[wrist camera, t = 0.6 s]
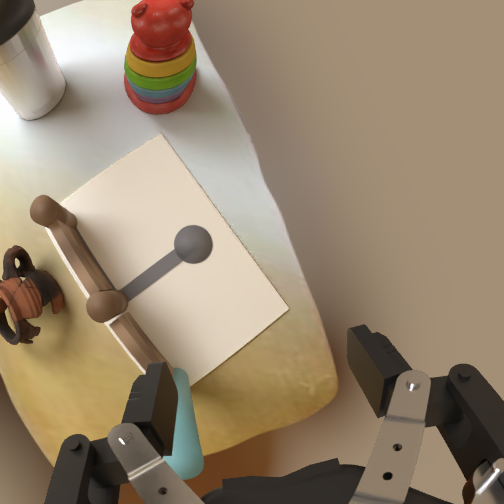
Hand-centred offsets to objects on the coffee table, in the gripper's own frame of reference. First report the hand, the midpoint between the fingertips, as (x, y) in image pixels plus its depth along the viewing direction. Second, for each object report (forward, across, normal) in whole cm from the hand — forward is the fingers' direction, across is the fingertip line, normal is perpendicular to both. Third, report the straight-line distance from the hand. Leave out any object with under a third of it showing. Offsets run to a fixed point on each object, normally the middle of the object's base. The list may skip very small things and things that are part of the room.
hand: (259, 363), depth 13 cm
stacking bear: (+35, +7, -20) cm, 41 cm away
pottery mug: (+21, +28, +3) cm, 35 cm away
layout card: (+25, +10, +3) cm, 27 cm away
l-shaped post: (+20, +12, +12) cm, 26 cm away
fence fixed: (+23, +19, +1) cm, 30 cm away
